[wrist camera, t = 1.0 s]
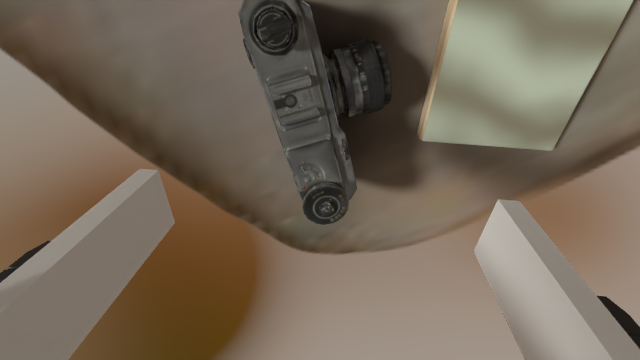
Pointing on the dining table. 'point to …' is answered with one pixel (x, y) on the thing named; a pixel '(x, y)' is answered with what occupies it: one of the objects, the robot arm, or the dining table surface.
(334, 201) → the camera
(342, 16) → the dining table surface
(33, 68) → the dining table surface
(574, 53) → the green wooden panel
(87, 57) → the dining table surface
